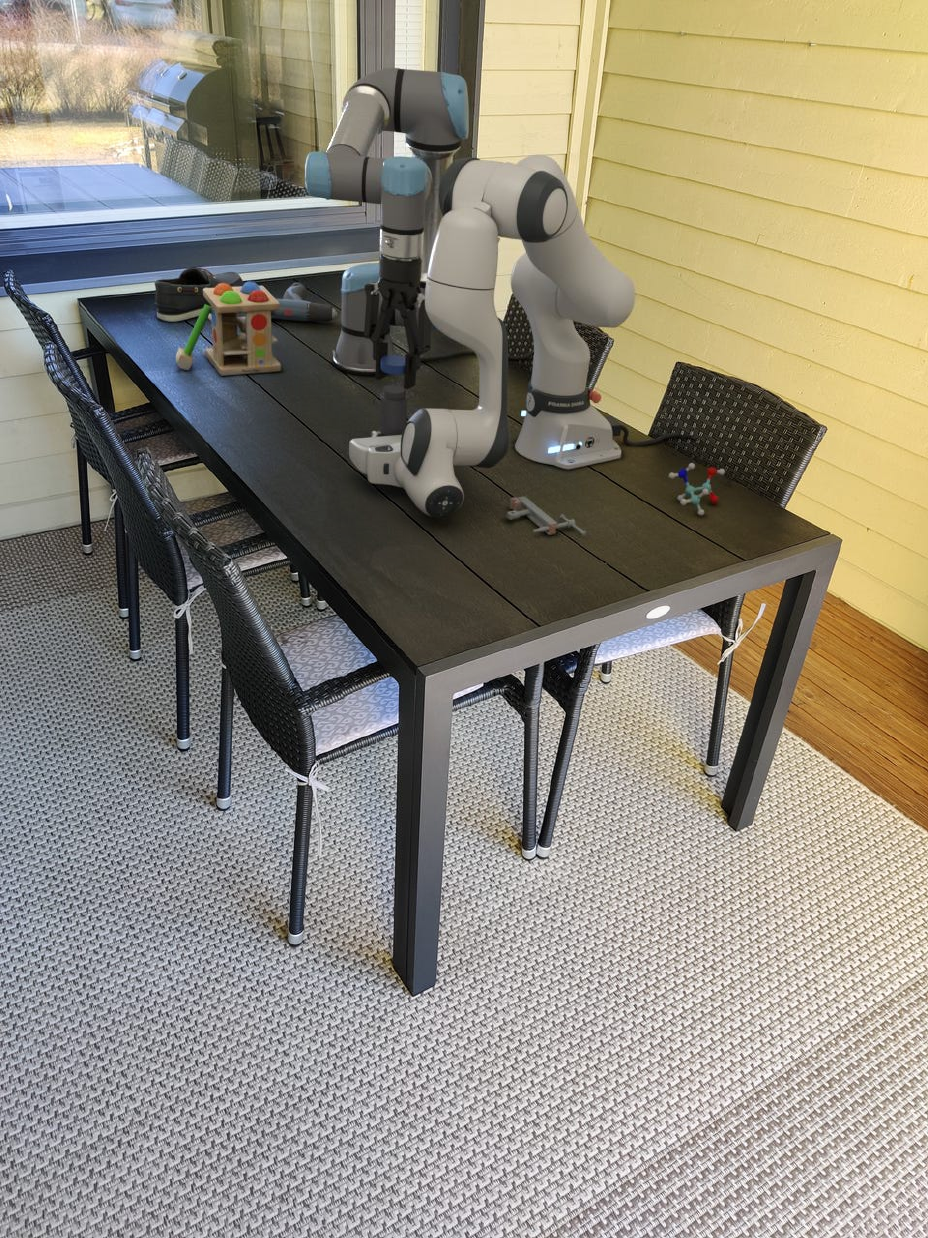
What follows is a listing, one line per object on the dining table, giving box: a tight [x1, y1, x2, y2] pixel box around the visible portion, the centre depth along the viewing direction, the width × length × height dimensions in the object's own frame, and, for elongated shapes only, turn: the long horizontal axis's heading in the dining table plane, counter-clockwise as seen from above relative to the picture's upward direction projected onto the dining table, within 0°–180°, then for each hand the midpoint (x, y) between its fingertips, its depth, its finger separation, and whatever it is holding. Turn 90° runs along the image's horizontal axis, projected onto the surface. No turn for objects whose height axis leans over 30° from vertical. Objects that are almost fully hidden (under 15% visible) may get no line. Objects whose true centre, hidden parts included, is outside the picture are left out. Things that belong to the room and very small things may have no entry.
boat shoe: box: [153, 265, 244, 323], centre depth 262 cm, size 13×33×10 cm, turn 147°
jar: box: [379, 384, 409, 436], centre depth 189 cm, size 5×5×16 cm
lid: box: [380, 354, 405, 376], centre depth 182 cm, size 6×6×2 cm
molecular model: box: [668, 462, 726, 517], centre depth 188 cm, size 12×10×10 cm
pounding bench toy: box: [174, 281, 282, 377], centre depth 225 cm, size 23×14×18 cm, turn 116°
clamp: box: [506, 496, 587, 537], centre depth 177 cm, size 15×2×10 cm
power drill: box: [271, 282, 338, 322], centre depth 265 cm, size 5×19×20 cm
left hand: (395, 381), depth 184 cm, fingers closed on lid, 6 cm apart
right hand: (390, 432), depth 191 cm, fingers closed on jar, 5 cm apart
